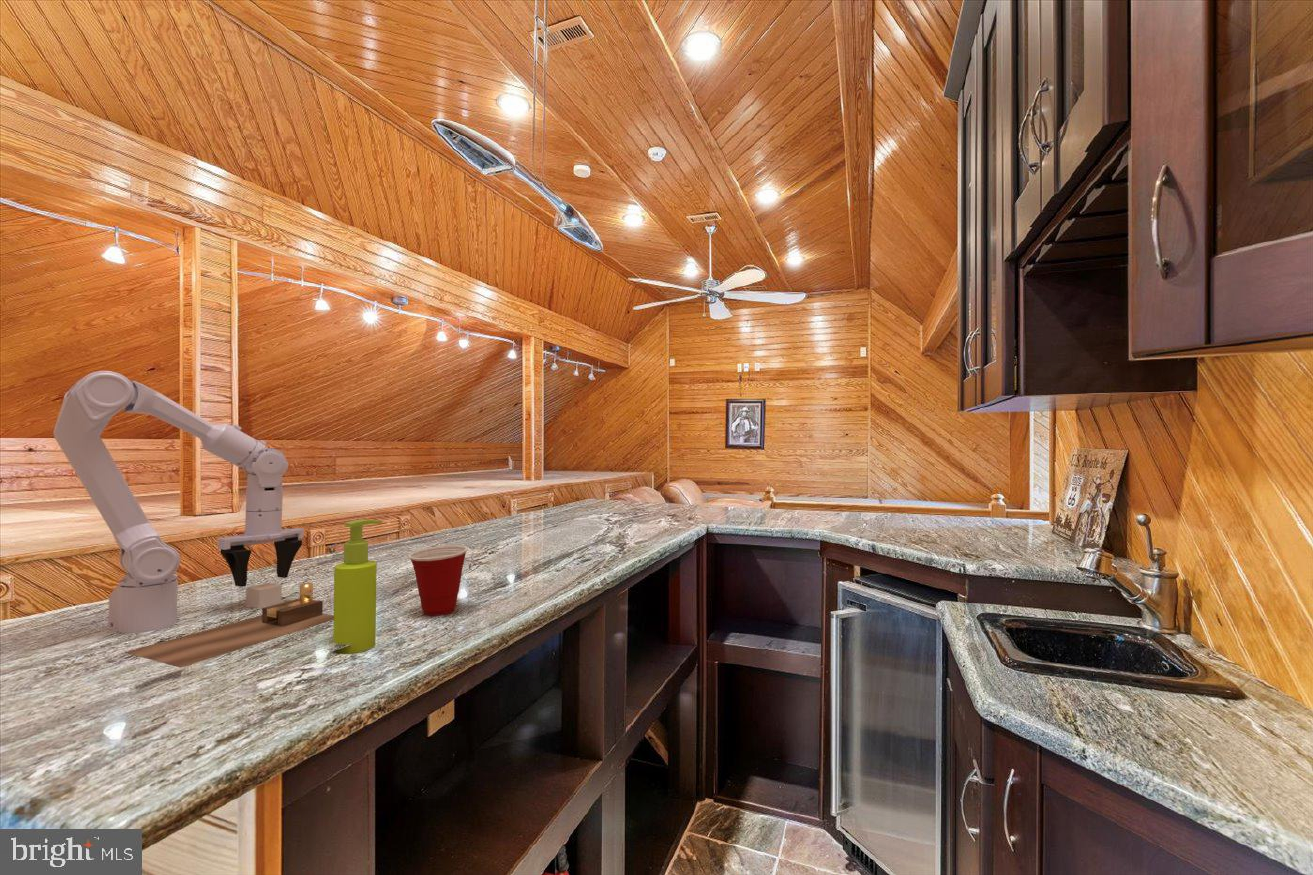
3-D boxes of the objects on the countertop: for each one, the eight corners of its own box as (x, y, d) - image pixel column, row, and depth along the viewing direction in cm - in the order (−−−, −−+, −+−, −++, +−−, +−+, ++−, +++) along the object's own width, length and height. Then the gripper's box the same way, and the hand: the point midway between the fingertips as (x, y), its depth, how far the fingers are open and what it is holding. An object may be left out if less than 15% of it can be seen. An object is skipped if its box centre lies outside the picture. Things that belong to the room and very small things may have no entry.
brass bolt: (266, 616, 92) (267, 591, 93) (307, 605, 99) (307, 582, 99) (276, 618, 92) (276, 593, 92) (316, 606, 98) (316, 583, 98)
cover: (213, 620, 101) (214, 590, 101) (274, 604, 111) (274, 577, 111) (251, 627, 97) (251, 596, 97) (311, 610, 107) (311, 582, 107)
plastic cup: (397, 611, 105) (398, 549, 105) (452, 600, 112) (452, 542, 113) (421, 624, 97) (422, 557, 97) (477, 611, 105) (478, 549, 105)
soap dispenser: (389, 642, 88) (390, 519, 89) (349, 656, 82) (351, 524, 82) (364, 636, 91) (366, 517, 91) (324, 650, 85) (326, 522, 85)
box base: (124, 662, 80) (125, 635, 80) (289, 615, 102) (289, 594, 102) (180, 678, 74) (181, 648, 74) (341, 625, 96) (341, 602, 96)
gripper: (235, 515, 96) (233, 592, 96) (314, 507, 109) (312, 575, 109) (211, 513, 99) (209, 588, 98) (291, 506, 112) (289, 572, 112)
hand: (262, 581), depth 104 cm, fingers open, 7 cm apart
